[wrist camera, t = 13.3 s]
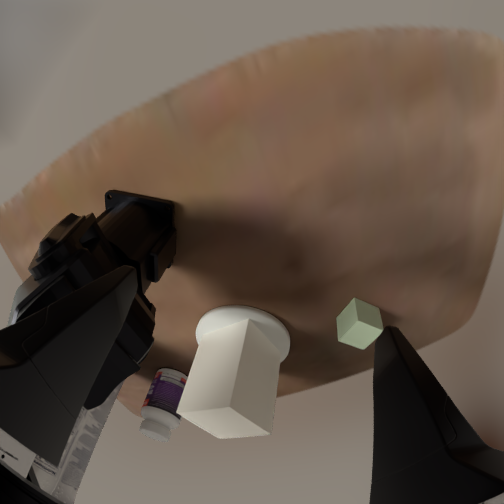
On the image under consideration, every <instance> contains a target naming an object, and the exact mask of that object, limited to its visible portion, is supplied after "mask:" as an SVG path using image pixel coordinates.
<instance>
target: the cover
mask: <svg viewBox="0 0 504 504" xmlns="http://www.w3.org/2000/svg"><path fill="white" fill-rule="evenodd" d="M280 359H281V352H280V351H279V350H278V349H277V348H276V347H275V346H274V345H273V344H272V343H271V342H270V341H269V340H268V339H267V338H266V336H265V335H264V334H263V333H262V332H261V331H260V330H259V329H258V328H257V327H256V326H255V325H254V323H253V322H252V321H251V320H250V319H246V320H243V321H240V322H238V323H235V324H232V325H229V326H226V327H224V328H221V329H218V330H215V331H212V332H209V333H206V334H203V335H202V338H201V341H200V344H199V347H198V349H197V352H196V355H195V358H194V361H193V364H192V367H191V370H190V373H189V376H188V379H187V382H186V385H185V388H184V391H183V394H182V396H181V399H180V402H179V405H178V408H177V411H176V413H178V414H179V415H181V416H182V417H184V418H186V419H187V420H189V421H190V422H192V423H193V424H195V425H197V426H198V427H200V428H202V429H203V430H205V431H207V432H209V433H210V434H212V435H214V436H216V437H217V438H219V439H222V438H239V437H251V436H261V435H270V434H271V433H272V426H273V418H274V410H275V401H276V394H277V386H278V377H279V368H280Z"/></svg>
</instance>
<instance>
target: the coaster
mask: <svg viewBox="0 0 504 504" xmlns="http://www.w3.org/2000/svg"><path fill="white" fill-rule="evenodd" d="M246 319H250V320H251V321H252V322H253V323H254V325H255V326H256V327H257V328H258V329H259V330H260V331H261V332H262V333H263V334H264V335H265V336H266V338H267V339H268V340H269V341H270V342H271V343H272V344H273V345H274V346H275V347H276V348H277V349H278V350H279V351H280V352H281V359H280V363H281V362H282V361H283V360H284V359H285V358H286V357H287V355H288V353H289V350H290V335H289V332H288V330H287V329H286V327H285V326H284V325H283V323H282V322H281V321H279V320H278V319H277V318H276V317H274V316H273V315H271V314H269V313H267V312H265V311H263V310H260V309H257V308H254V307H249V306H243V305H226V306H220V307H217V308H214V309H212V310H210V311H208V312H207V313H205V314H204V315H203V316H202V318H201V319H200V321H199V323H198V326H197V329H196V339H197V342H198V344H200V341H201V338H202V335H203V334H206V333H209V332H212V331H215V330H218V329H221V328H224V327H226V326H229V325H232V324H235V323H238V322H240V321H243V320H246Z"/></svg>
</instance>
